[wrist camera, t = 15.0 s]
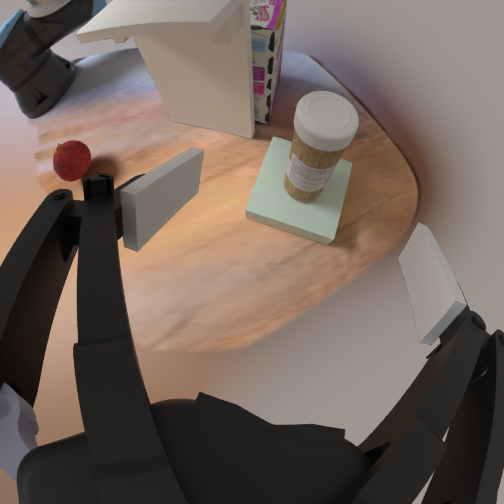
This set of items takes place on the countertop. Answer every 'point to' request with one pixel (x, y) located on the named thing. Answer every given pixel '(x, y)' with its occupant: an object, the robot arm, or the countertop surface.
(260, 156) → the countertop surface
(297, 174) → the sprinkles bottle
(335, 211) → the pedestal
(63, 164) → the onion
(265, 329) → the countertop surface
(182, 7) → the white t-shaped stand
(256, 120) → the candy bar box
